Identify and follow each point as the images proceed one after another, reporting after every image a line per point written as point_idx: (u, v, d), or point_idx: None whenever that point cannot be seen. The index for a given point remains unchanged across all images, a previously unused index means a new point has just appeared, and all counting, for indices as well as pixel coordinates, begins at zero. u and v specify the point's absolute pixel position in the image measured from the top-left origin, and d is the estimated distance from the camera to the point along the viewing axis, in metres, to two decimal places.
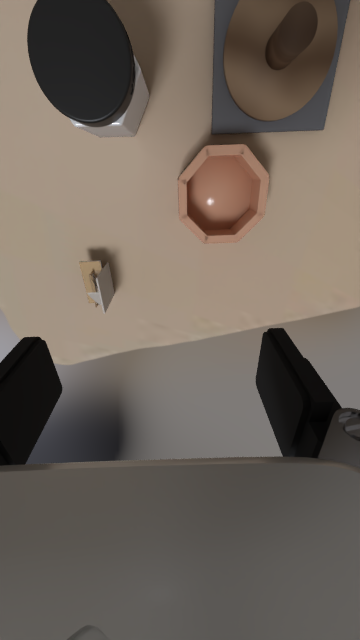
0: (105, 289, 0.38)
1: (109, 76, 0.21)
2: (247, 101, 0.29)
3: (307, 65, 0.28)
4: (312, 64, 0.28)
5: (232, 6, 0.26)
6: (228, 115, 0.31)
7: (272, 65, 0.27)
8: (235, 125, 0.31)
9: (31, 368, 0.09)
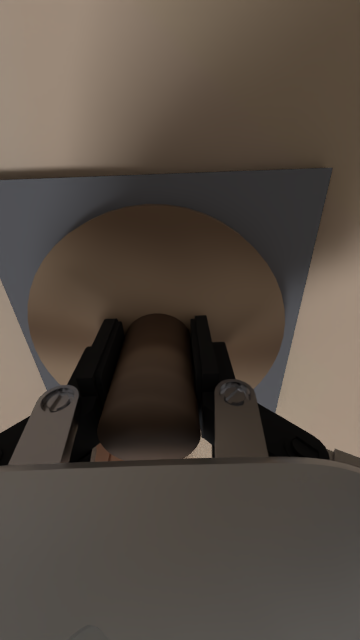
0: None
1: None
2: None
3: None
4: (235, 358, 0.13)
5: (37, 266, 0.11)
6: None
7: None
8: None
9: (117, 345, 0.10)
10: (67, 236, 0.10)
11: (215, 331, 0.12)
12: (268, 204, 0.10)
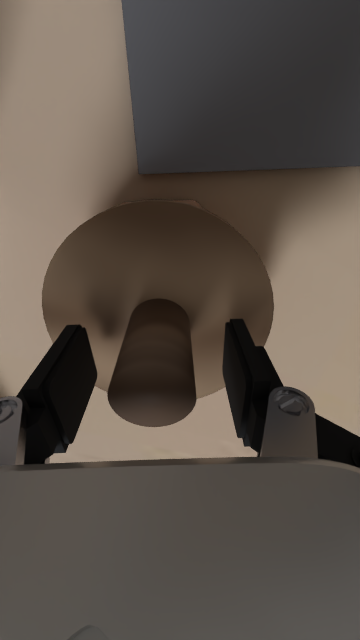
0: None
1: None
2: None
3: (220, 342, 0.14)
4: None
5: None
6: (171, 136, 0.14)
7: None
8: (188, 157, 0.14)
9: (77, 352, 0.10)
10: (79, 228, 0.11)
11: (211, 315, 0.13)
12: None
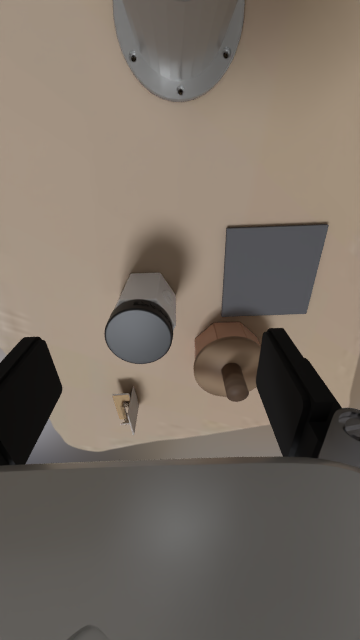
0: (133, 413, 0.48)
1: (157, 345, 0.31)
2: (211, 389, 0.43)
3: (250, 375, 0.42)
4: (253, 375, 0.41)
5: (238, 252, 0.37)
6: (234, 307, 0.41)
7: None
8: (239, 312, 0.42)
9: (31, 368, 0.09)
10: (213, 345, 0.38)
11: (248, 367, 0.41)
12: (310, 234, 0.35)
